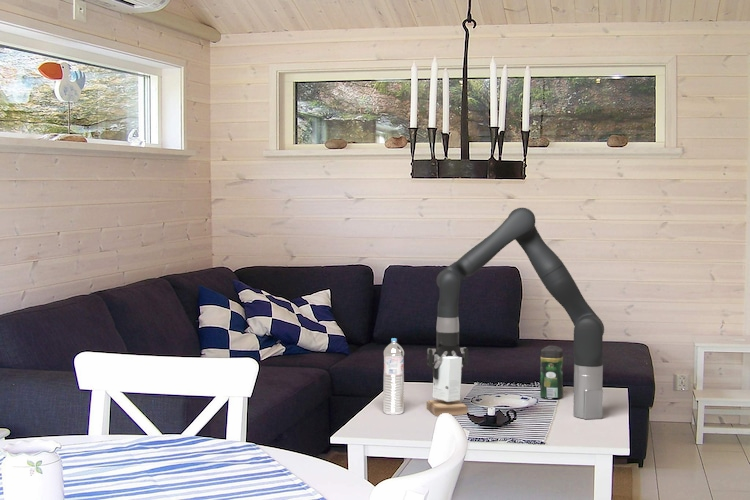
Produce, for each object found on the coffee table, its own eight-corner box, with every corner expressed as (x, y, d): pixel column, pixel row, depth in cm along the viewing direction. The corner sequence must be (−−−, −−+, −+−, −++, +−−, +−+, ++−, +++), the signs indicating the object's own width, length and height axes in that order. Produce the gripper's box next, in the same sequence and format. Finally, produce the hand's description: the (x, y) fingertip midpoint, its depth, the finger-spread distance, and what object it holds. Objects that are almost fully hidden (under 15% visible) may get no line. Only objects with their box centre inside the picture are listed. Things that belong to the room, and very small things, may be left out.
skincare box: (432, 398, 317) (432, 354, 316) (445, 395, 320) (445, 352, 319) (448, 402, 310) (448, 357, 309) (462, 400, 314) (462, 356, 313)
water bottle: (390, 409, 318) (391, 336, 317) (407, 412, 314) (408, 338, 313) (379, 413, 313) (379, 338, 311) (396, 416, 309) (396, 340, 307)
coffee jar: (542, 393, 345) (542, 343, 344) (563, 395, 343) (564, 344, 342) (538, 399, 336) (539, 347, 335) (560, 400, 334) (561, 348, 333)
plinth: (467, 414, 311) (467, 405, 311) (435, 416, 309) (435, 407, 309) (457, 407, 322) (457, 398, 322) (426, 408, 320) (426, 400, 319)
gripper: (430, 332, 309) (430, 381, 310) (471, 331, 312) (471, 380, 313) (424, 329, 316) (423, 377, 317) (464, 328, 319) (464, 375, 320)
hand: (447, 378), depth 315 cm, fingers closed on skincare box, 7 cm apart
